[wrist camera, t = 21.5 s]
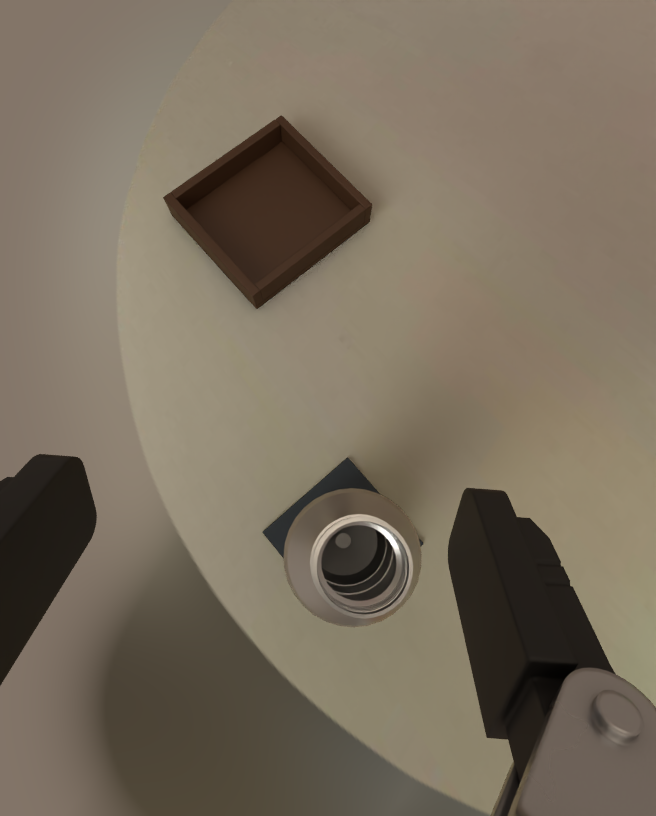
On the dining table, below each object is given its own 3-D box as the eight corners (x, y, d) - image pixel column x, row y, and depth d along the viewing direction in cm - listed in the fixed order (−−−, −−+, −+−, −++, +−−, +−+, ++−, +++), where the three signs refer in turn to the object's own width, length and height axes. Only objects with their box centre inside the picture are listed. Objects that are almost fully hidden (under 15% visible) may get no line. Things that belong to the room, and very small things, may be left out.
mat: (337, 624, 35) (337, 625, 35) (262, 531, 37) (262, 532, 36) (422, 543, 37) (423, 543, 36) (347, 457, 38) (347, 457, 38)
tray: (256, 309, 41) (252, 296, 39) (171, 215, 43) (162, 197, 41) (369, 221, 43) (372, 204, 41) (283, 136, 45) (281, 114, 43)
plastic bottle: (387, 583, 36) (462, 663, 16) (299, 584, 36) (268, 664, 16) (384, 498, 37) (450, 477, 18) (300, 498, 37) (273, 477, 18)
